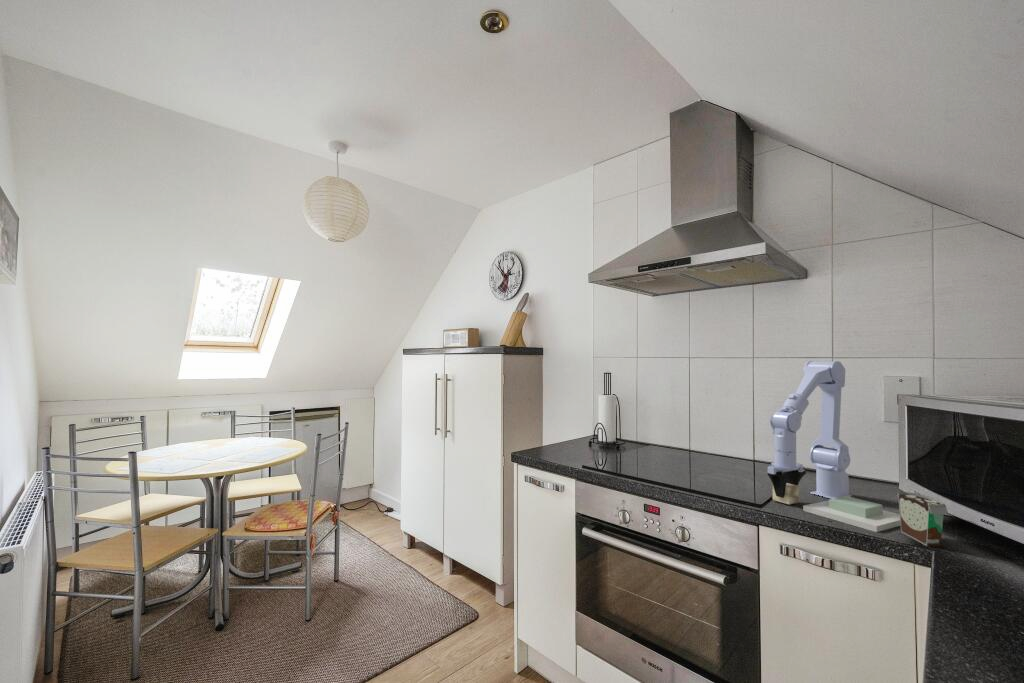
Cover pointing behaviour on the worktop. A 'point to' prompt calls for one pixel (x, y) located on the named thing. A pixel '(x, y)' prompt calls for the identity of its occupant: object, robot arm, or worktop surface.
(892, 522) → the base board
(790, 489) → the maple cube
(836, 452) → the robot arm
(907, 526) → the food container
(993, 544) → the worktop surface
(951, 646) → the worktop surface
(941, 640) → the worktop surface
